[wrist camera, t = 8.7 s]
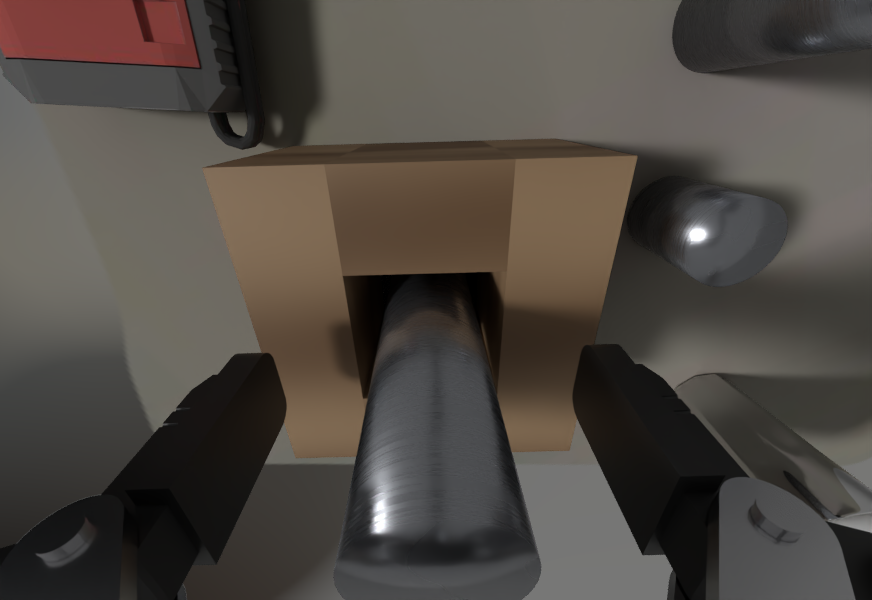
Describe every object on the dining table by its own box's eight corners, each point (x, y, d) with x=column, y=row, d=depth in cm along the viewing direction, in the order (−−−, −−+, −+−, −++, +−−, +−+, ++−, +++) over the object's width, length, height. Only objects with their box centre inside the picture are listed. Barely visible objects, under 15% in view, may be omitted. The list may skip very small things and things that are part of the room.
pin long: (391, 233, 15) (315, 524, 4) (461, 231, 15) (555, 513, 4) (397, 295, 16) (348, 629, 6) (461, 292, 16) (529, 619, 6)
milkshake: (768, 356, 18) (1078, 581, 10) (714, 427, 21) (920, 657, 12) (688, 346, 18) (935, 570, 9) (643, 419, 20) (802, 651, 12)
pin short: (636, 177, 14) (706, 198, 10) (711, 175, 14) (805, 195, 11) (619, 248, 15) (675, 288, 12) (687, 246, 15) (764, 285, 12)
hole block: (293, 145, 13) (202, 168, 8) (555, 138, 13) (637, 156, 8) (335, 356, 18) (295, 457, 13) (528, 351, 18) (569, 450, 13)
